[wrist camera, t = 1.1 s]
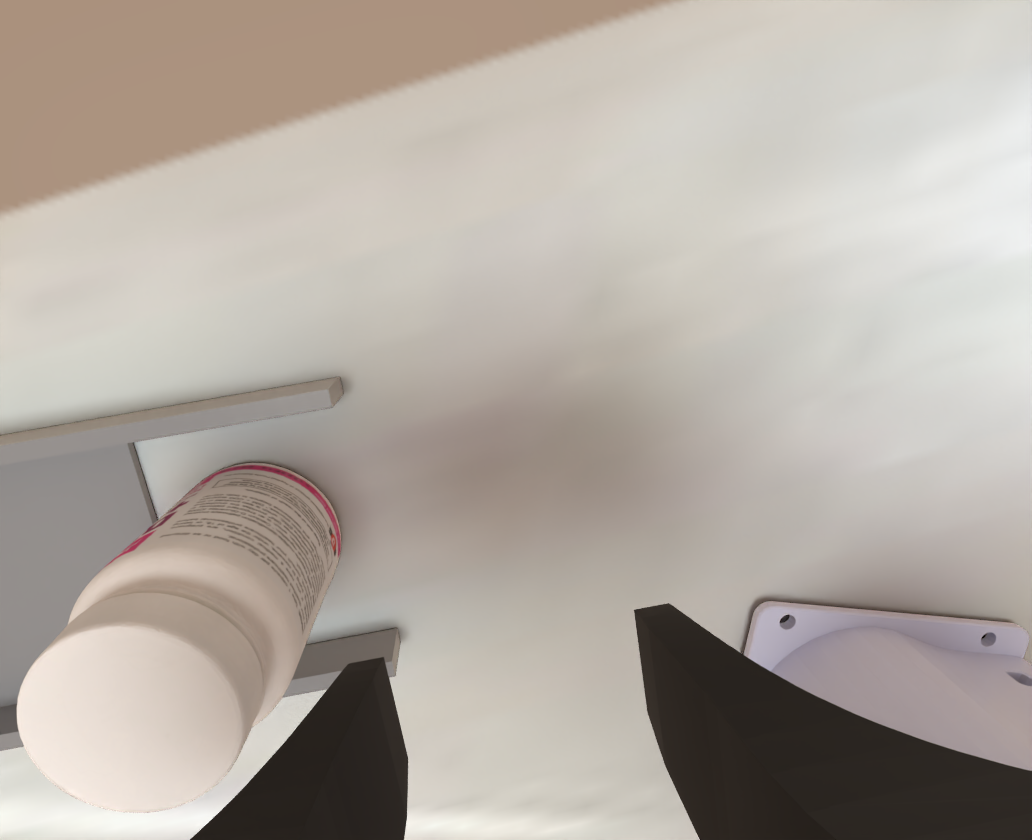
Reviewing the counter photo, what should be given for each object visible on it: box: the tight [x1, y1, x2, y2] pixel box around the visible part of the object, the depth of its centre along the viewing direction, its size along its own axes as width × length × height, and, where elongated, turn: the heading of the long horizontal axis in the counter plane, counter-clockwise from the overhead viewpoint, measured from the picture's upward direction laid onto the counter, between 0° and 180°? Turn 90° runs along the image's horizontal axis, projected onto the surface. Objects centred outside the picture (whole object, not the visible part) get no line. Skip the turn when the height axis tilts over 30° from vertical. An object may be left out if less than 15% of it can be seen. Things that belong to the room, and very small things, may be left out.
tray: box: [0, 377, 401, 751], centre depth 20 cm, size 15×9×2 cm, turn 99°
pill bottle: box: [17, 463, 341, 813], centre depth 16 cm, size 5×5×8 cm
